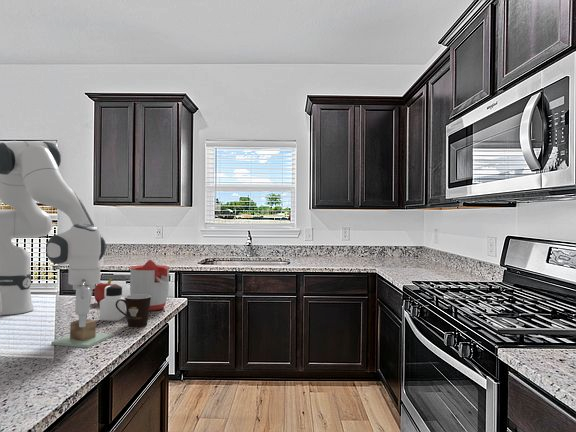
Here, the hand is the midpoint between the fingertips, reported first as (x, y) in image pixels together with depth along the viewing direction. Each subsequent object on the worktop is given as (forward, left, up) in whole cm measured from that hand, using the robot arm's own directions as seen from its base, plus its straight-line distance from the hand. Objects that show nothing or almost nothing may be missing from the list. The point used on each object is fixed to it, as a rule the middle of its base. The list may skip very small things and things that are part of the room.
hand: (83, 322), depth 138 cm
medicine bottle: (-7, +28, -6) cm, 29 cm away
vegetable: (-24, +52, -6) cm, 57 cm away
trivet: (0, 0, -5) cm, 5 cm away
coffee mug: (+5, +22, -6) cm, 23 cm away
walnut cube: (0, 0, -5) cm, 5 cm away
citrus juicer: (-1, +46, -6) cm, 47 cm away
